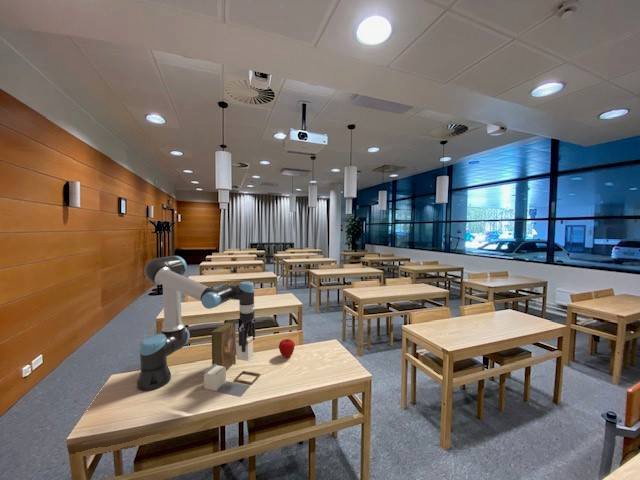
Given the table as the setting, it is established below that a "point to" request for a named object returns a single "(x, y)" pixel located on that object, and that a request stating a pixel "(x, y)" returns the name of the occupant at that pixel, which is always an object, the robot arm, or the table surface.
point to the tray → (247, 381)
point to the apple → (286, 347)
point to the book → (224, 345)
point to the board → (232, 388)
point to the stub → (249, 349)
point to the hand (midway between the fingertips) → (247, 354)
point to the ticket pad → (214, 377)
